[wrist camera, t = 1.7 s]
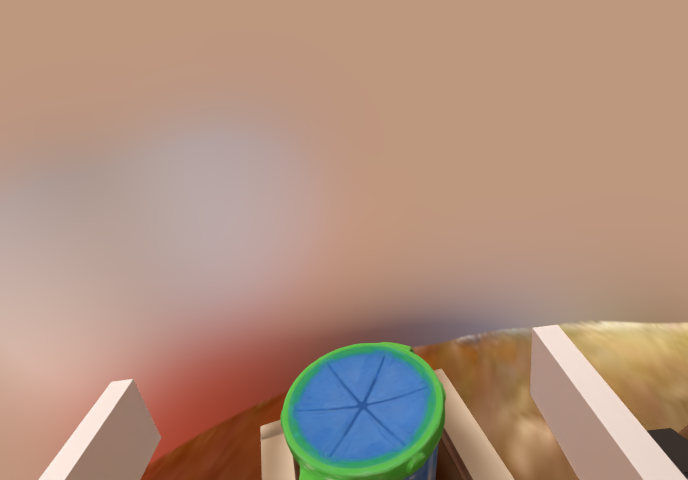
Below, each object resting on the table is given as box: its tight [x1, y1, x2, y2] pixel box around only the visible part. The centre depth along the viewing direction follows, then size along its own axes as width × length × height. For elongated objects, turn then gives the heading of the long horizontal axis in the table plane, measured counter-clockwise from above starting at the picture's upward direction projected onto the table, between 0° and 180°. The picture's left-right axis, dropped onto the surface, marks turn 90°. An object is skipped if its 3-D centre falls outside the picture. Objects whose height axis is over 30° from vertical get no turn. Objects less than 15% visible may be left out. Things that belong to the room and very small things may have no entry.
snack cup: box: [280, 342, 446, 480], centre depth 28 cm, size 16×10×10 cm
